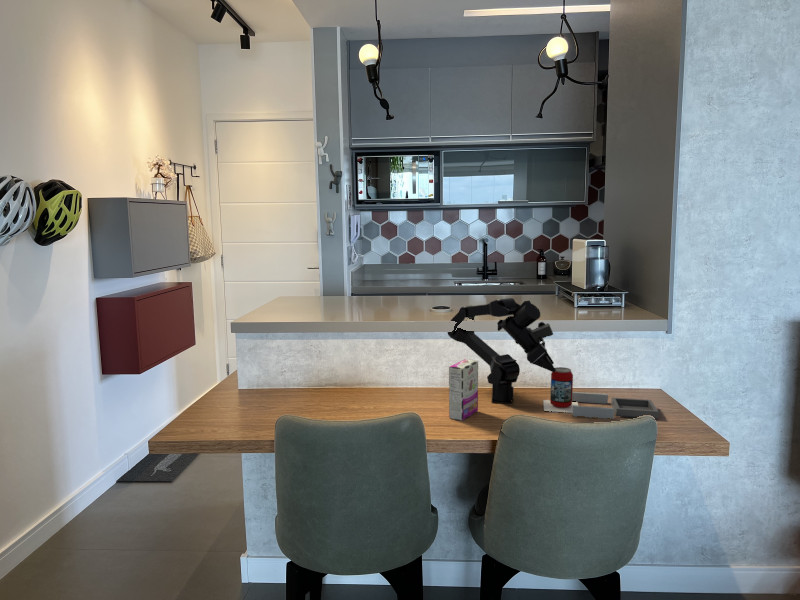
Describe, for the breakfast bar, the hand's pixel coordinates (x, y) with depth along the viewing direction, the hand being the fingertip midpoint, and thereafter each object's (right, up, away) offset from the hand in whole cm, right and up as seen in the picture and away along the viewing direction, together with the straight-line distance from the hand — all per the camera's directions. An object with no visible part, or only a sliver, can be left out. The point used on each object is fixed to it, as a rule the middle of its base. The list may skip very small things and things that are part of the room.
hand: (553, 367), depth 194 cm
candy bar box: (-30, -14, -6) cm, 33 cm away
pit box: (+24, -14, -4) cm, 28 cm away
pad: (+3, -13, +1) cm, 13 cm away
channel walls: (+12, -13, -1) cm, 17 cm away
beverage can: (+3, -13, +1) cm, 13 cm away
